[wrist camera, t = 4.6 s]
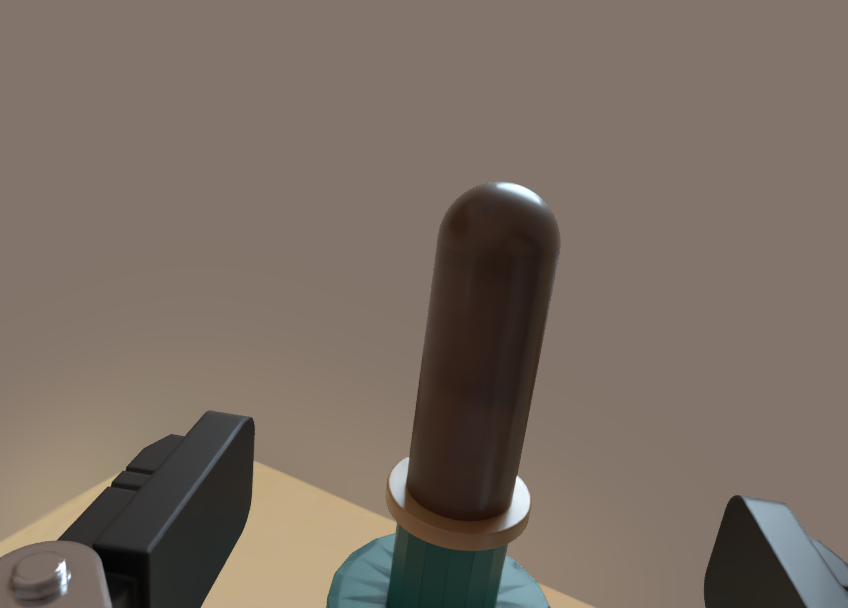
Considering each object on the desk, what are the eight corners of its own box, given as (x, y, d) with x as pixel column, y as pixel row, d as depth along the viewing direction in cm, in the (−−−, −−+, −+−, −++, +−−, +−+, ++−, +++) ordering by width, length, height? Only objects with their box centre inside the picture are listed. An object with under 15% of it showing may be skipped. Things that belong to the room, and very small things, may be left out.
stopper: (438, 506, 26) (488, 165, 22) (541, 571, 23) (623, 195, 19) (348, 561, 22) (388, 169, 18) (458, 645, 20) (535, 207, 15)
